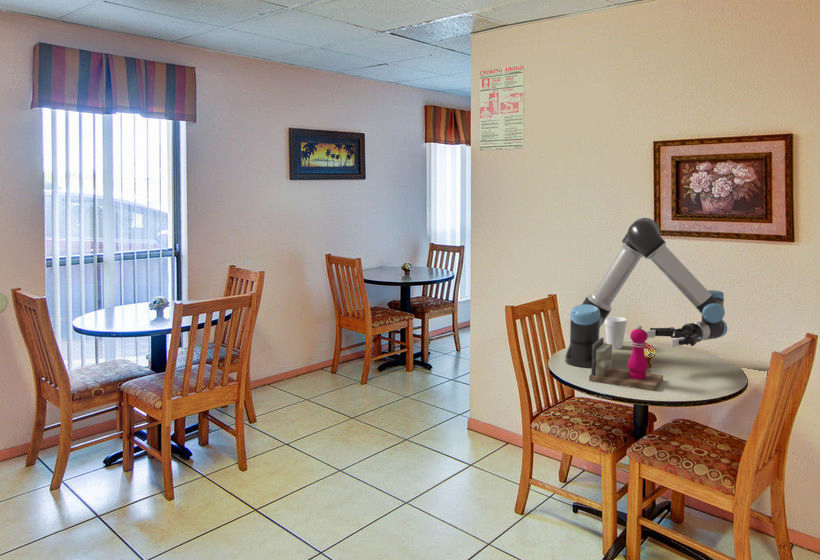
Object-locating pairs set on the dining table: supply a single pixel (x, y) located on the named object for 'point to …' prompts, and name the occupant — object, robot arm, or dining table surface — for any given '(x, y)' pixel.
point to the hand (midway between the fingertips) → (656, 339)
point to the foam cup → (615, 331)
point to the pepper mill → (638, 354)
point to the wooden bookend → (617, 370)
